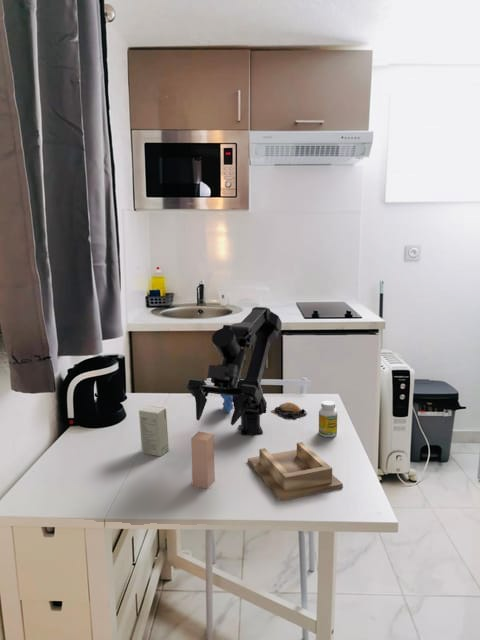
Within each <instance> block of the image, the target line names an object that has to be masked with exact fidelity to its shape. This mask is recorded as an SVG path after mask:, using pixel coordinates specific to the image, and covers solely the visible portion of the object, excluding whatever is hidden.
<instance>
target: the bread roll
mask: <svg viewBox="0 0 480 640" xmlns="http://www.w3.org/2000/svg"><path fill="white" fill-rule="evenodd" d="M270 412H271V413H272V414H275V415H277V416H279V417H283V418H285V419H289V420H290V419H293V420H295V421H296V420H298V419H301V418H304V417H306V416H307V415H308V413H307V411H306V410H305V409H304V408H302V409H301V407H300V406H298V405H297V404H295V403H294V402H293V403H292V402H284V403H281V404H279V406H276V407H275V408H274V409H272V410H270Z"/></svg>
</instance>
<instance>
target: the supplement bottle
mask: <svg viewBox="0 0 480 640" xmlns="http://www.w3.org/2000/svg"><path fill="white" fill-rule="evenodd" d="M320 406H321V408H320V409H319V411H318V434H319V435H320V436H322V437H324V438H332V437H336V436H337V434H338V410H337V409H336V402H335V401H332V400H323V401H321V403H320Z"/></svg>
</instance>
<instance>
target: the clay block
mask: <svg viewBox="0 0 480 640" xmlns="http://www.w3.org/2000/svg"><path fill="white" fill-rule="evenodd" d="M190 439H191V440H190V444H191V445H190V446H191V475H192V476H191V477H192V484H191V485H192V486H193V487H197V488H203V489H207V490H208V489H209V488H210V487H211V486H212V485H213V483H214V482H215V481H216V476H215V475H216V472H215V468H216V467H215V463H216V462H215V434H214V433H212V432H206V431H205V432H204V431H197V432H196V433H195V434H194V435H193V436H192V437H191V438H190Z"/></svg>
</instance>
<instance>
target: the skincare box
mask: <svg viewBox="0 0 480 640" xmlns="http://www.w3.org/2000/svg"><path fill="white" fill-rule="evenodd" d="M138 413H139V414H138V416H139V429H140V442H141V453H142V454H146V455H153V456H157V457H158V456H159V457H161V456H163V455H164V454H166V453H167V452H169V450H170V449H169V434H168V419H167V418H168V417H167V408H165V407H161V406H153V405H146V406H145V407H142V408H141V409H139V410H138Z"/></svg>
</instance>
